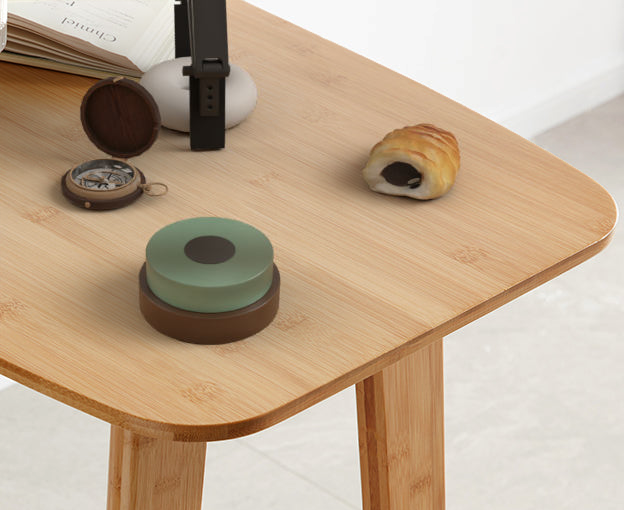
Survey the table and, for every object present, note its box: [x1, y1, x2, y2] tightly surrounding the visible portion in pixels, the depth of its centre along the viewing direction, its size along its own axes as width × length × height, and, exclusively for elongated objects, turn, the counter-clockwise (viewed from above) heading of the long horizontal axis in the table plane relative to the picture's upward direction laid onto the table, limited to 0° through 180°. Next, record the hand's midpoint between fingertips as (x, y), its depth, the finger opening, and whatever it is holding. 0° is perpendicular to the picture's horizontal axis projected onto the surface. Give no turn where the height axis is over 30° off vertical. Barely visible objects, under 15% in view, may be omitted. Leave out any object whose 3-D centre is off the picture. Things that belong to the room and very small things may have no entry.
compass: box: [60, 75, 169, 211], centre depth 82 cm, size 8×8×7 cm
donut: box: [138, 57, 259, 133], centre depth 94 cm, size 10×4×10 cm
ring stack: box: [138, 216, 281, 345], centre depth 72 cm, size 9×9×4 cm
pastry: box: [362, 123, 461, 200], centre depth 87 cm, size 9×7×4 cm
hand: (198, 110), depth 95 cm, fingers open, 12 cm apart
